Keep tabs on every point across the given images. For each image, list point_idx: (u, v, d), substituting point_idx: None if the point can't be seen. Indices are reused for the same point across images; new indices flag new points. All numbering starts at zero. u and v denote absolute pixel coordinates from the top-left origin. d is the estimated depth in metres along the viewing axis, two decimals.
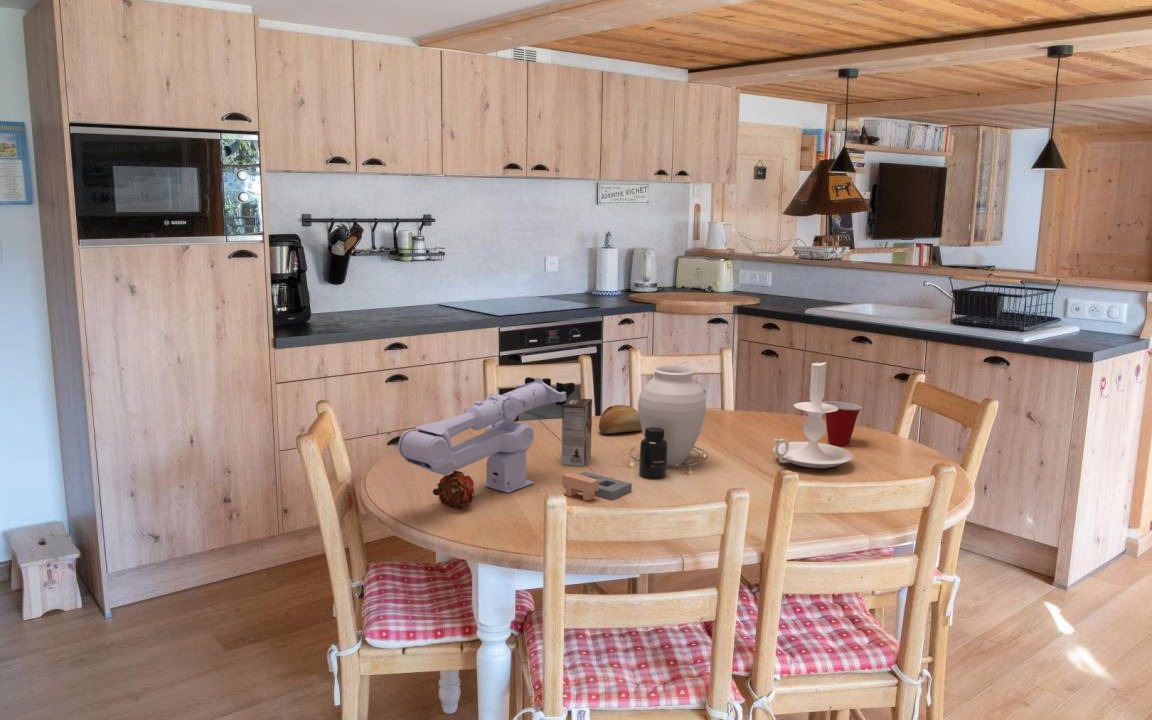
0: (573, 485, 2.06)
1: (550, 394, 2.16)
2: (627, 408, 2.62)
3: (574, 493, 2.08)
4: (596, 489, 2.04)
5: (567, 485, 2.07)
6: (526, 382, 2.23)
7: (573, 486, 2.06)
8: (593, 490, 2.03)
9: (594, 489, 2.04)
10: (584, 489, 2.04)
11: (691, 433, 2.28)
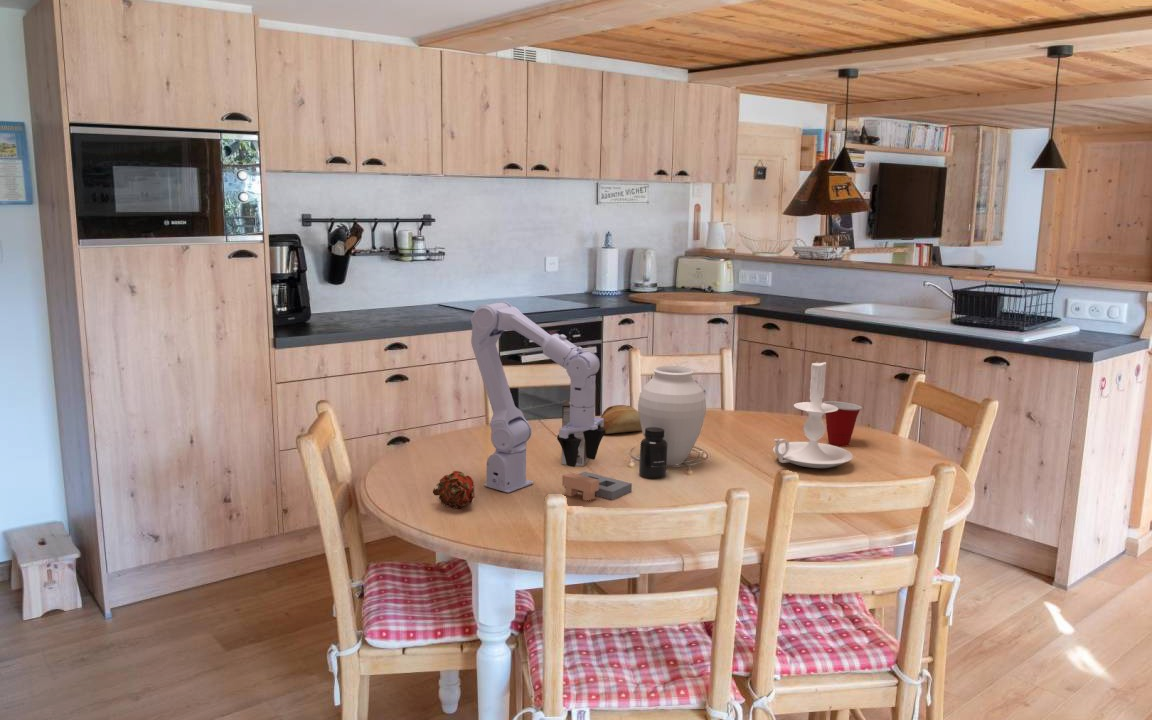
0: (573, 485, 2.06)
1: (573, 427, 2.01)
2: (627, 408, 2.62)
3: (574, 493, 2.08)
4: (596, 489, 2.04)
5: (567, 485, 2.07)
6: (601, 428, 2.08)
7: (573, 486, 2.06)
8: (593, 490, 2.03)
9: (594, 489, 2.04)
10: (584, 489, 2.04)
11: (691, 433, 2.28)
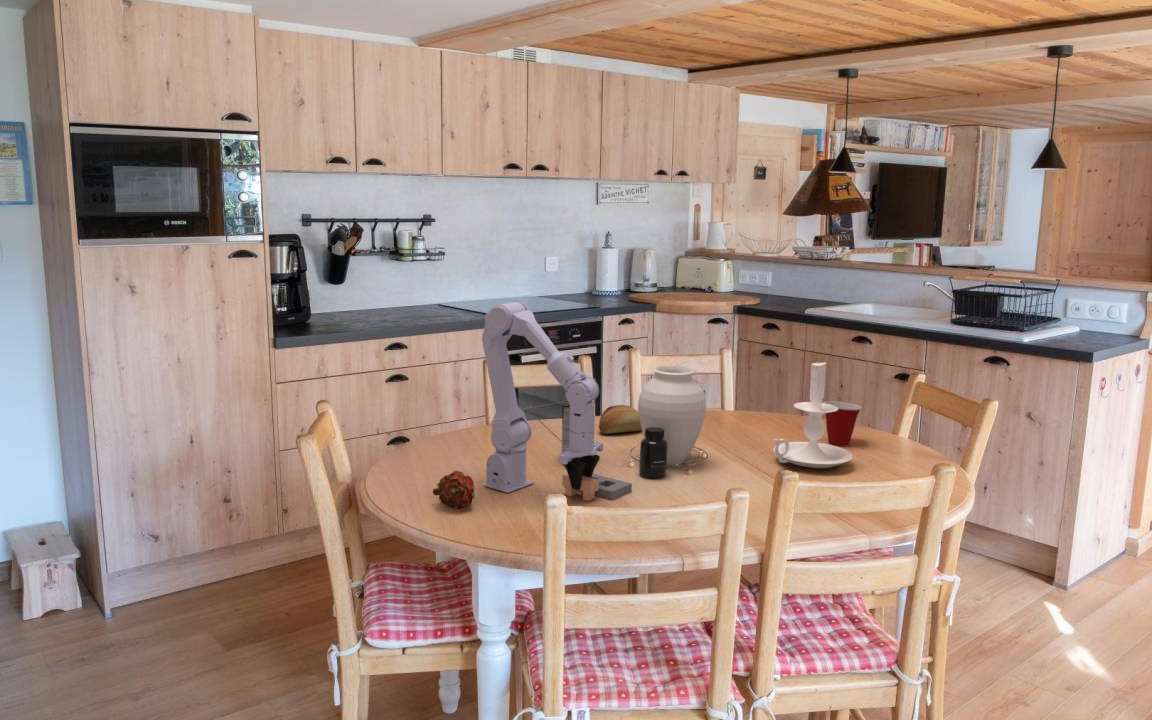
0: None
1: (572, 453, 2.02)
2: (627, 408, 2.62)
3: (574, 493, 2.08)
4: (596, 489, 2.04)
5: (567, 485, 2.07)
6: None
7: None
8: (593, 490, 2.03)
9: (594, 489, 2.04)
10: (584, 489, 2.04)
11: (691, 433, 2.28)
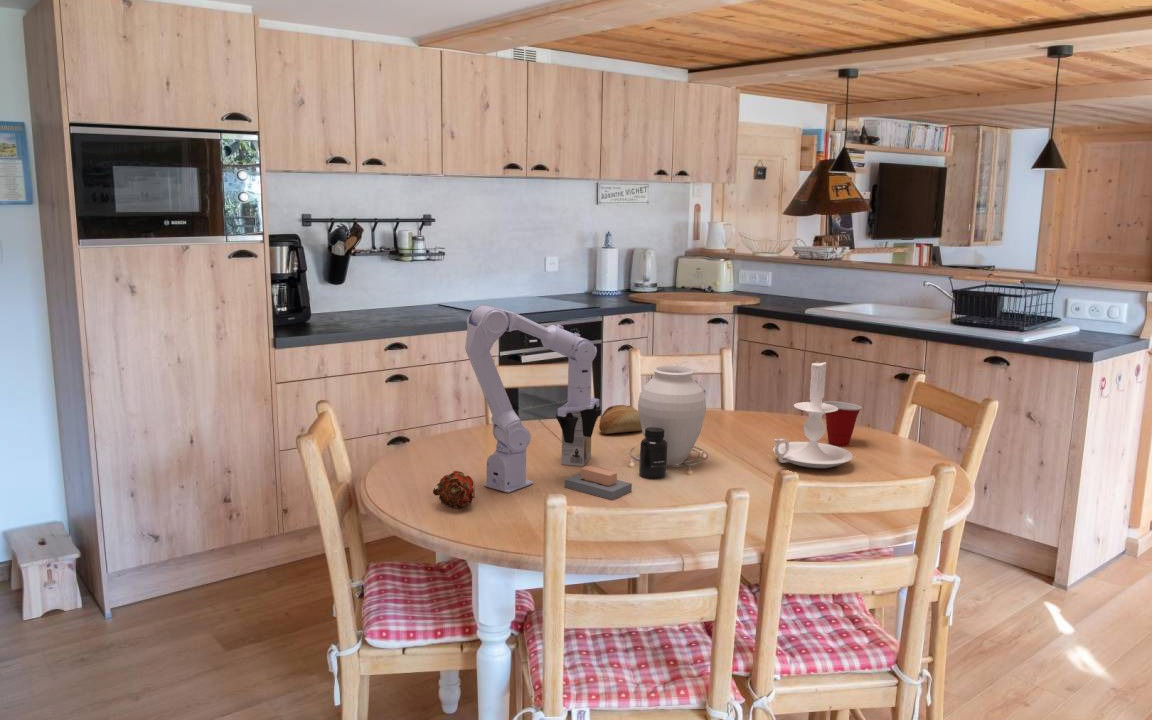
0: (591, 478, 2.11)
1: (570, 407, 2.16)
2: (627, 408, 2.62)
3: None
4: (614, 482, 2.10)
5: (585, 478, 2.12)
6: (596, 408, 2.23)
7: (591, 479, 2.11)
8: (611, 483, 2.09)
9: (612, 482, 2.09)
10: (602, 482, 2.09)
11: (691, 433, 2.28)
